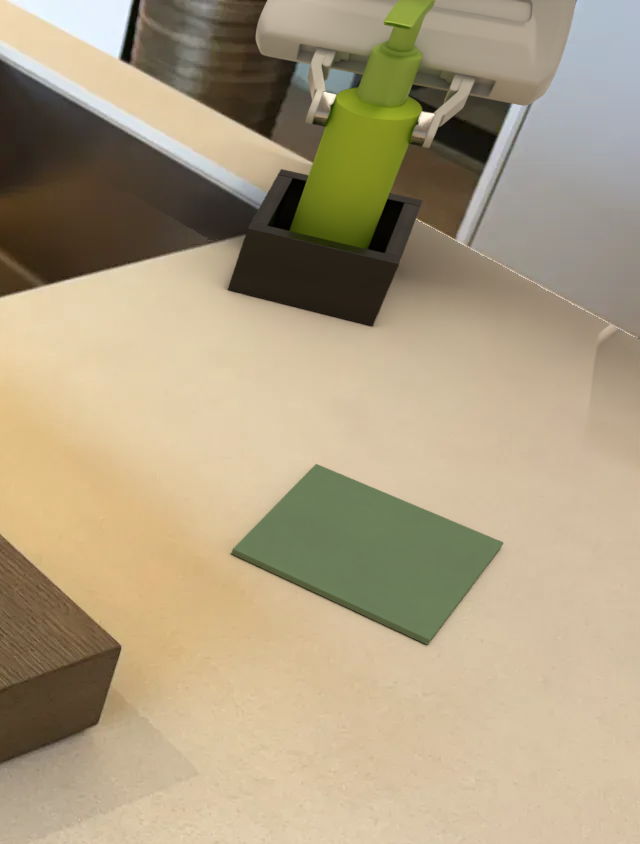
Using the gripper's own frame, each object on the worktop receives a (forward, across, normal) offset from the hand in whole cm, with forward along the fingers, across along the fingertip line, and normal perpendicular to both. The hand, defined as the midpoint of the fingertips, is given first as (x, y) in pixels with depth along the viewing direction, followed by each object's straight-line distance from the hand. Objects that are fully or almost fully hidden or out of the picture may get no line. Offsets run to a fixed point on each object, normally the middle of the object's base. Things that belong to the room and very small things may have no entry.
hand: (368, 132), depth 98 cm
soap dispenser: (+8, 0, +9) cm, 12 cm away
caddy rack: (+8, 0, +8) cm, 11 cm away
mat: (+32, +10, -16) cm, 37 cm away
